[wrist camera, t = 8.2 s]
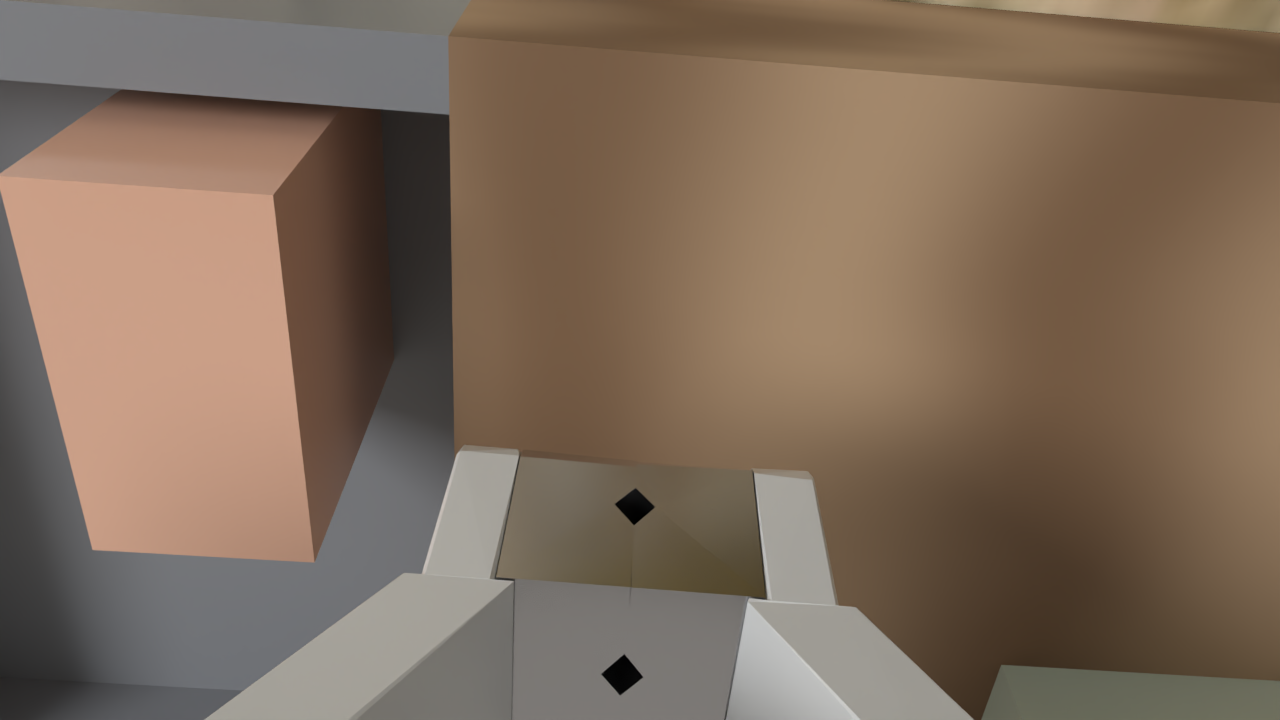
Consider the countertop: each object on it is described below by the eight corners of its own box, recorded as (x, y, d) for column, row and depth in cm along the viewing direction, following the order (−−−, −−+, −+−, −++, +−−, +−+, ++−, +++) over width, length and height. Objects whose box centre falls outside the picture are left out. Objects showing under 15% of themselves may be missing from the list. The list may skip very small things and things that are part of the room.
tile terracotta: (272, 195, 10) (-3, 176, 10) (314, 562, 12) (93, 550, 12) (378, 61, 14) (182, 47, 13) (394, 360, 16) (226, 348, 16)
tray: (491, -33, 13) (448, 36, 10) (486, 711, 21) (461, 879, 18) (-317, -101, 13) (-603, -49, 10) (-32, 682, 20) (-150, 849, 17)
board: (1687, 66, 14) (1972, 158, 11) (1276, 754, 21) (1381, 923, 18) (491, -33, 13) (448, 36, 10) (486, 711, 21) (461, 879, 18)
